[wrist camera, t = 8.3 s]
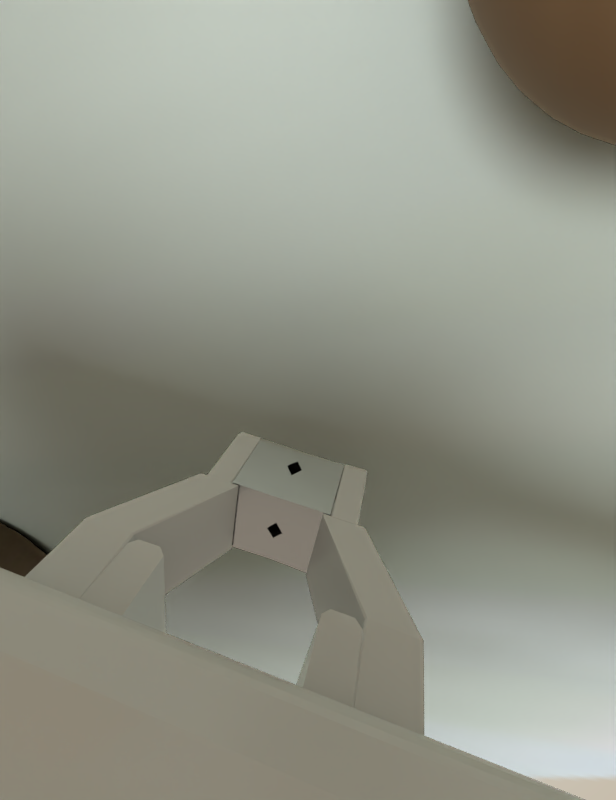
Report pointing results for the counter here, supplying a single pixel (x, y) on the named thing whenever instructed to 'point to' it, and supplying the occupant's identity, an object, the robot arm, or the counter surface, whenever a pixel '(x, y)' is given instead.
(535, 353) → the counter surface
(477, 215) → the counter surface
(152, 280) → the counter surface
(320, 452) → the counter surface
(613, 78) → the walnut ball
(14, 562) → the pillar candle
